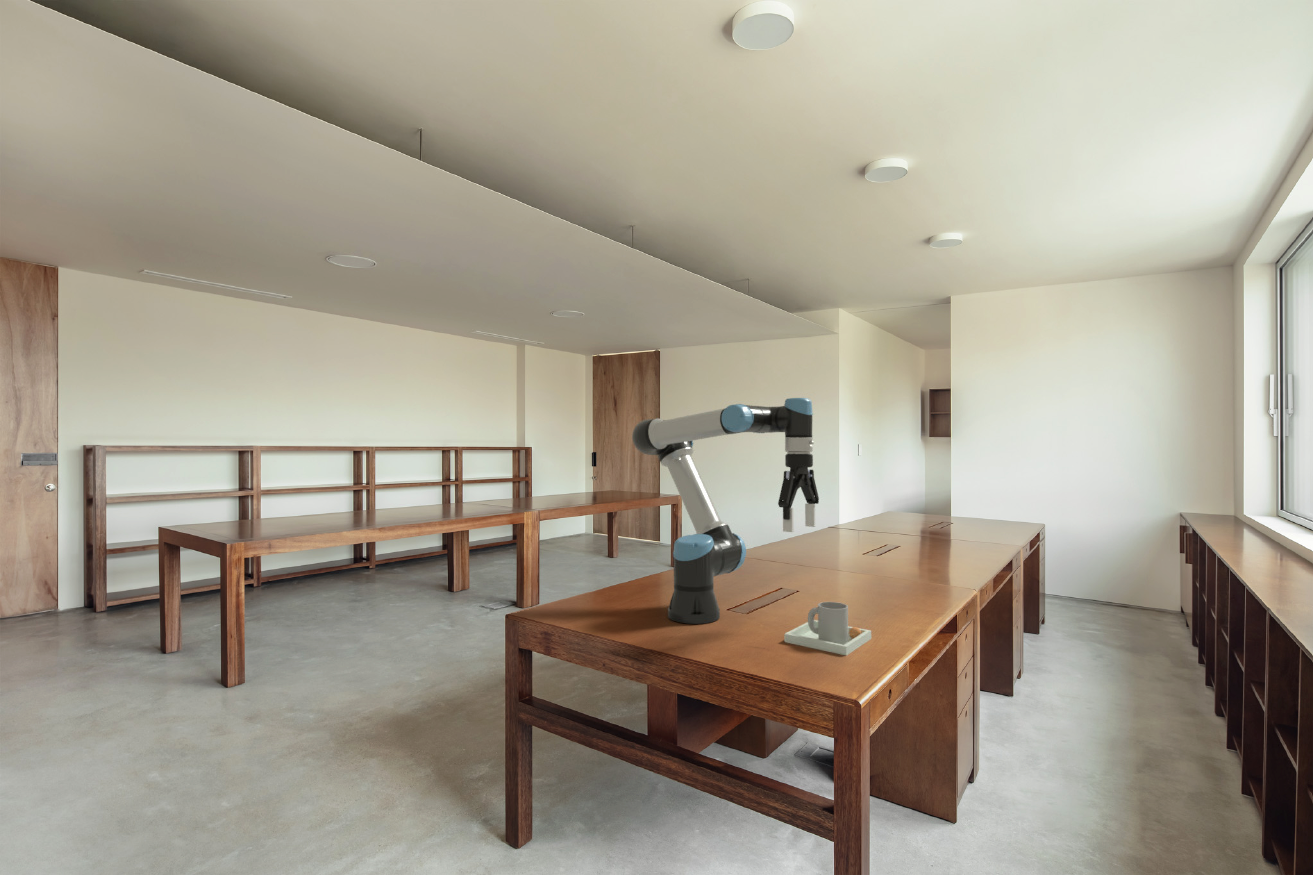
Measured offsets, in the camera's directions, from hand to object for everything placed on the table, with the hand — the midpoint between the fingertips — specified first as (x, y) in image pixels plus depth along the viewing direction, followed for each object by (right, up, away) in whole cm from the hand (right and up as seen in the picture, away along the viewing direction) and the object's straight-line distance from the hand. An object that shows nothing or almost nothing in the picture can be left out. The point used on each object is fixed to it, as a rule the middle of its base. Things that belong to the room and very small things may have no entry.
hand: (799, 529), depth 171 cm
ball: (+10, -25, -16) cm, 32 cm away
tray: (+3, -26, -17) cm, 32 cm away
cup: (+3, -26, -17) cm, 31 cm away
